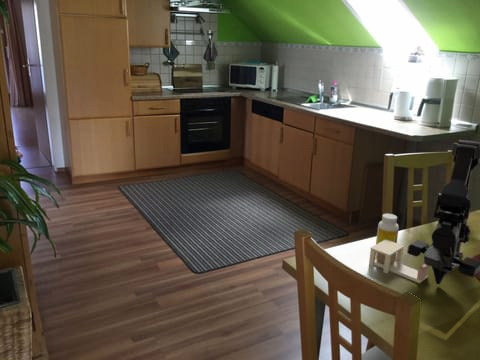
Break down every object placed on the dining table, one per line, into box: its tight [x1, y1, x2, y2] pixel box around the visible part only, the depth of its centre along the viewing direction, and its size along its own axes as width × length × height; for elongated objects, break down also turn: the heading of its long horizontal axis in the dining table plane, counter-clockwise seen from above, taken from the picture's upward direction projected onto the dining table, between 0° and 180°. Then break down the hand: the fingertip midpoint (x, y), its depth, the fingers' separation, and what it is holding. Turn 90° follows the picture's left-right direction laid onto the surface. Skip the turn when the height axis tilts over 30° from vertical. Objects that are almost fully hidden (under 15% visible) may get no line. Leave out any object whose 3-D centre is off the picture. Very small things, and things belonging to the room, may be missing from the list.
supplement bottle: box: [375, 213, 400, 245], centre depth 149 cm, size 7×7×13 cm
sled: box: [374, 252, 430, 284], centre depth 135 cm, size 5×16×5 cm, turn 43°
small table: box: [368, 239, 405, 274], centre depth 136 cm, size 9×30×7 cm, turn 43°
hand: (438, 283), depth 128 cm, fingers closed
